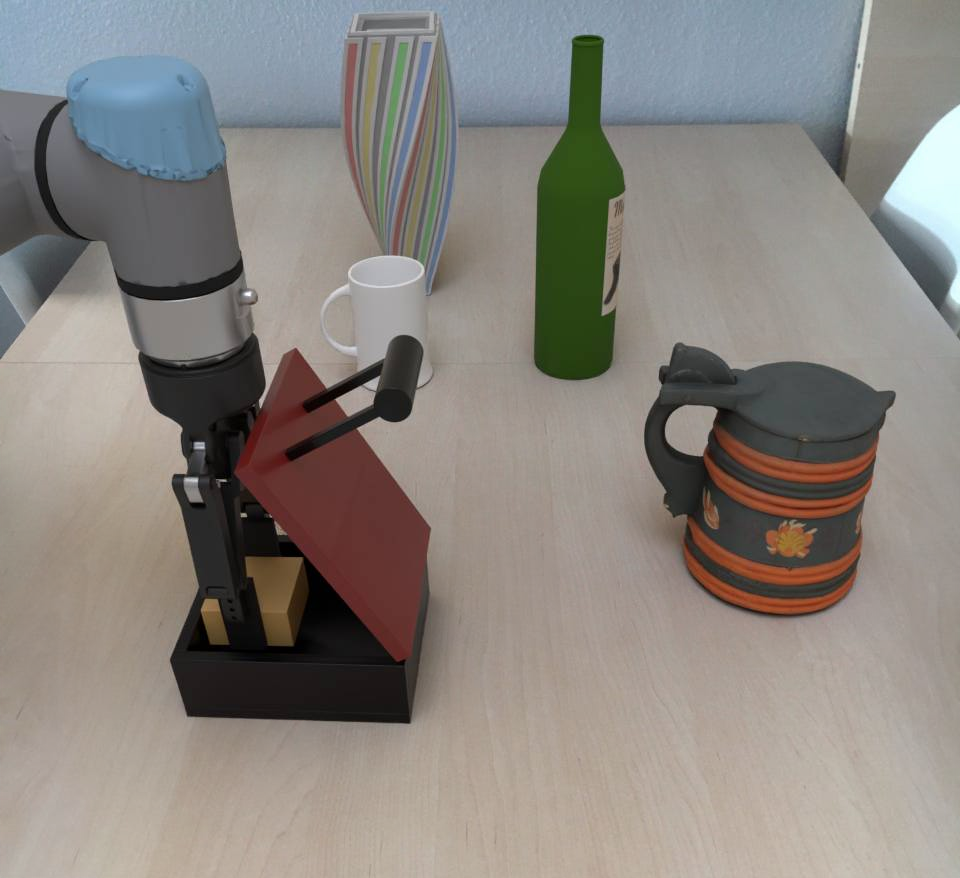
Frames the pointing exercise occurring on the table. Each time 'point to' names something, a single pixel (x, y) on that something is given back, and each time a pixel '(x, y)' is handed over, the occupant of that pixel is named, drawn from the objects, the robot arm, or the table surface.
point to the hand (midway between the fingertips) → (259, 614)
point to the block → (268, 600)
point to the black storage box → (301, 665)
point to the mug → (384, 310)
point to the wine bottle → (579, 233)
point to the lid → (344, 487)
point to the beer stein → (769, 477)
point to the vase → (401, 130)
